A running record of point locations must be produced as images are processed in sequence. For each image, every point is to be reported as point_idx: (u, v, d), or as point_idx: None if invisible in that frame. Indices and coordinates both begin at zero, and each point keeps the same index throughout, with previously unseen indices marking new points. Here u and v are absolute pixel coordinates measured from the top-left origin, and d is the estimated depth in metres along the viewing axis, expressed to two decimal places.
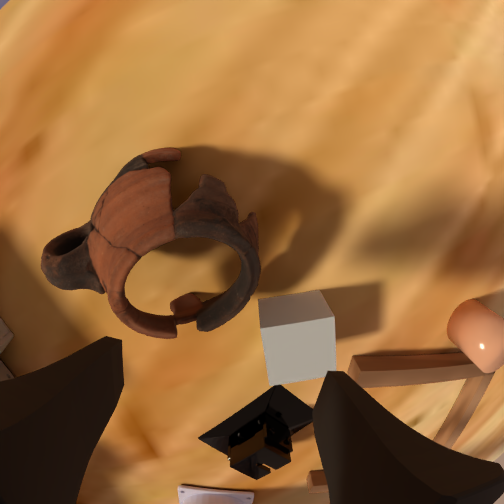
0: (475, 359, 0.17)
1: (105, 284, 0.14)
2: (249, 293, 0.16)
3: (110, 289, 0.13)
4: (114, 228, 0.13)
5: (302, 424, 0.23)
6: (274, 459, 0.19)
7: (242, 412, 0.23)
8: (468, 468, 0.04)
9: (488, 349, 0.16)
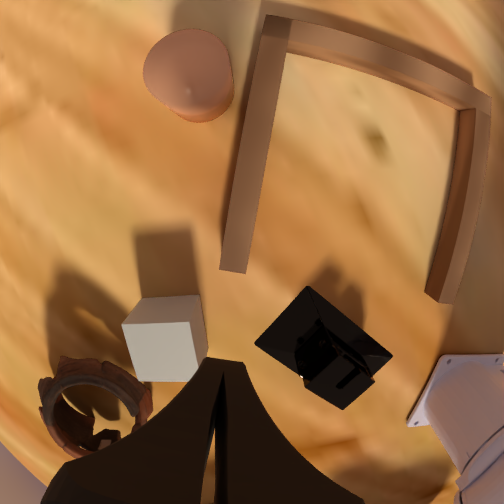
0: (200, 105, 0.13)
1: None
2: (98, 381, 0.17)
3: None
4: None
5: (320, 308, 0.20)
6: (331, 374, 0.17)
7: (298, 370, 0.21)
8: (309, 497, 0.04)
9: (174, 94, 0.12)
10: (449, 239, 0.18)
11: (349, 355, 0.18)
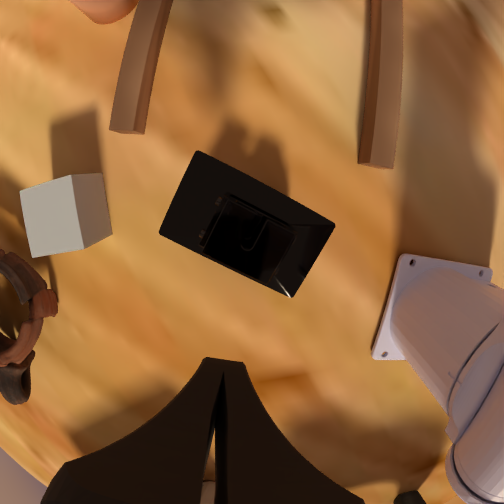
0: None
1: None
2: None
3: None
4: None
5: (219, 173, 0.18)
6: (228, 228, 0.15)
7: None
8: (309, 496, 0.04)
9: None
10: (372, 95, 0.16)
11: (256, 210, 0.16)
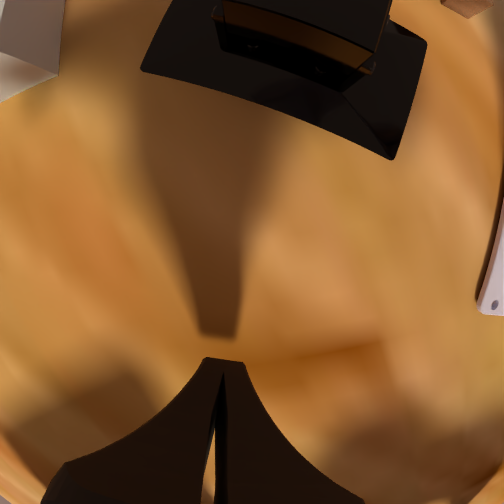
0: None
1: None
2: None
3: None
4: None
5: None
6: None
7: (252, 92, 0.09)
8: (309, 497, 0.04)
9: None
10: None
11: None
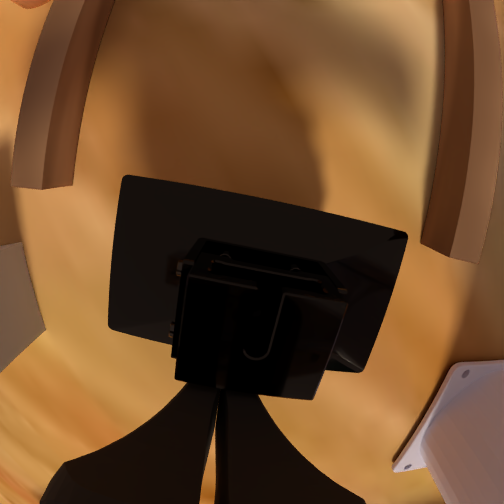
0: None
1: None
2: None
3: None
4: None
5: (178, 209, 0.10)
6: (207, 329, 0.07)
7: None
8: (309, 497, 0.04)
9: None
10: (458, 133, 0.08)
11: (258, 268, 0.08)
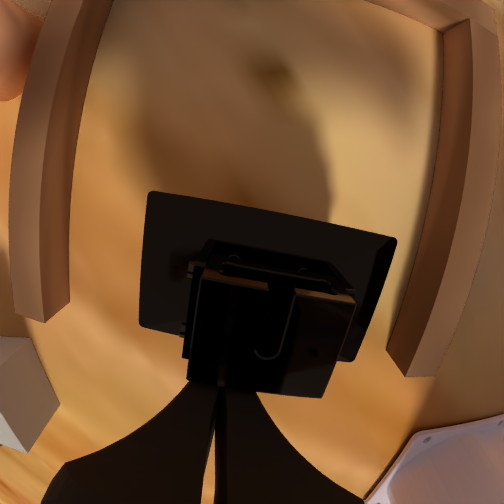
0: None
1: None
2: None
3: None
4: None
5: (186, 210, 0.10)
6: (220, 331, 0.07)
7: None
8: (309, 496, 0.04)
9: None
10: (433, 261, 0.10)
11: (268, 269, 0.08)
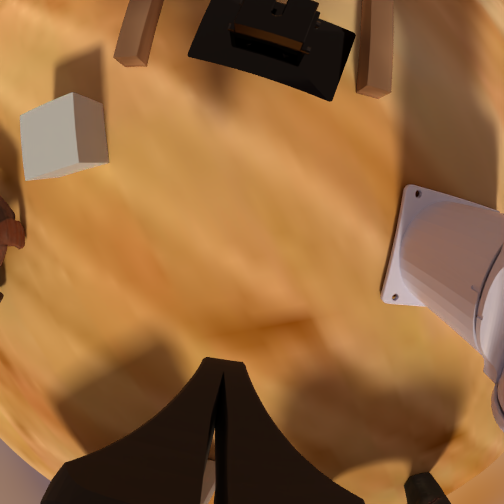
0: None
1: None
2: None
3: None
4: None
5: (238, 1, 0.15)
6: (256, 1, 0.12)
7: (249, 68, 0.16)
8: (309, 496, 0.04)
9: None
10: (366, 30, 0.15)
11: (279, 3, 0.13)
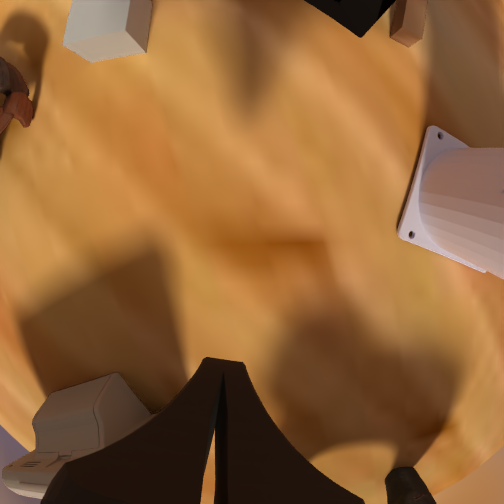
0: None
1: None
2: None
3: None
4: None
5: None
6: None
7: None
8: (309, 496, 0.04)
9: None
10: None
11: None
